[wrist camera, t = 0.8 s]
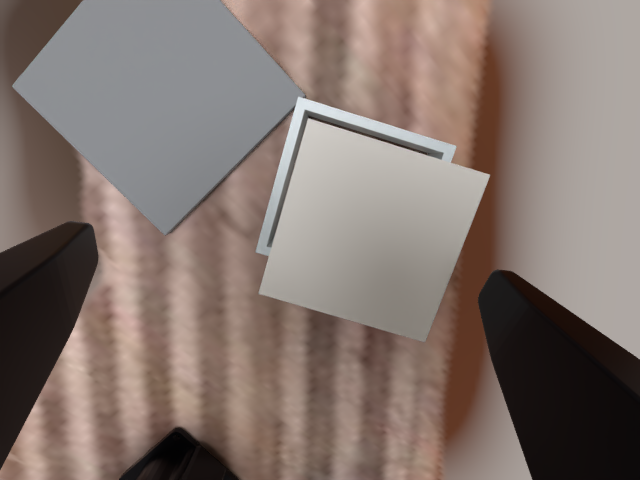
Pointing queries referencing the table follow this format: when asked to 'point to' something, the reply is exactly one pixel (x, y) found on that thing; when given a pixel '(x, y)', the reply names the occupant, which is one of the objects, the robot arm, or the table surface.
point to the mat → (159, 97)
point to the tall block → (370, 230)
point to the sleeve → (341, 119)
